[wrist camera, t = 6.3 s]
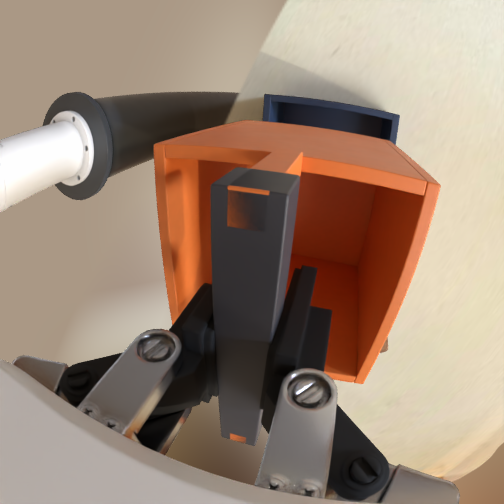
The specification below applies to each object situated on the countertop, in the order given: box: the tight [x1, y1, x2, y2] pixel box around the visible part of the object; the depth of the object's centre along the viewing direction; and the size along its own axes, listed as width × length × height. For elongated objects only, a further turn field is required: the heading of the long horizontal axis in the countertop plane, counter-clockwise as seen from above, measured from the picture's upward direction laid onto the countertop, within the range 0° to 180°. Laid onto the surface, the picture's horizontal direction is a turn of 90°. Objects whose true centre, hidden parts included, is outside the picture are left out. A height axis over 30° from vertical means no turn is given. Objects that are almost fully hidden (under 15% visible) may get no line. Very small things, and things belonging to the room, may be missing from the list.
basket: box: [154, 120, 441, 446], centre depth 13 cm, size 10×10×15 cm
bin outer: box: [263, 94, 400, 145], centre depth 27 cm, size 12×12×7 cm
